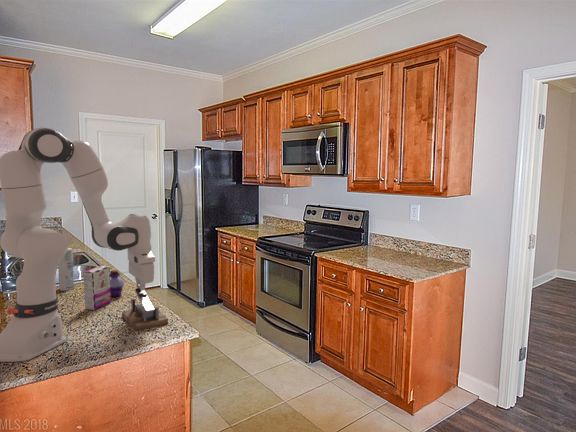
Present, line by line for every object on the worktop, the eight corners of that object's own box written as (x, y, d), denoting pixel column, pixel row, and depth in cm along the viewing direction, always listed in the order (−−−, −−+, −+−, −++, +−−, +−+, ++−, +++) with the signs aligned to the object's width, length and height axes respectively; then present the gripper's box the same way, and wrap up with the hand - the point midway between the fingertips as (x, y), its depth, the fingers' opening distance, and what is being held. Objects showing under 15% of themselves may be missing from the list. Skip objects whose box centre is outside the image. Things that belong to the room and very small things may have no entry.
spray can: (68, 290, 188) (66, 250, 186) (56, 290, 189) (54, 250, 187) (77, 287, 195) (75, 247, 193) (64, 286, 195) (62, 247, 193)
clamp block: (158, 319, 147) (158, 306, 147) (143, 322, 144) (143, 309, 143) (145, 308, 160) (145, 296, 159) (131, 310, 156) (130, 298, 156)
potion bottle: (100, 297, 179) (99, 271, 178) (114, 292, 187) (113, 267, 186) (115, 299, 176) (114, 273, 175) (129, 294, 184) (128, 269, 183)
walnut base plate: (168, 323, 149) (168, 318, 148) (136, 330, 141) (135, 325, 141) (152, 310, 163) (152, 305, 162) (122, 316, 155) (122, 311, 155)
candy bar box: (101, 301, 174) (100, 265, 172) (111, 302, 173) (110, 266, 171) (84, 309, 163) (82, 271, 161) (94, 310, 162) (93, 272, 160)
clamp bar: (154, 310, 147) (154, 307, 146) (146, 312, 145) (146, 309, 145) (142, 290, 157) (143, 287, 156) (135, 291, 155) (135, 288, 154)
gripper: (123, 251, 159) (125, 284, 160) (139, 260, 143) (141, 297, 144) (139, 249, 163) (140, 281, 164) (156, 258, 147) (157, 293, 148)
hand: (140, 289), depth 154 cm, fingers closed
